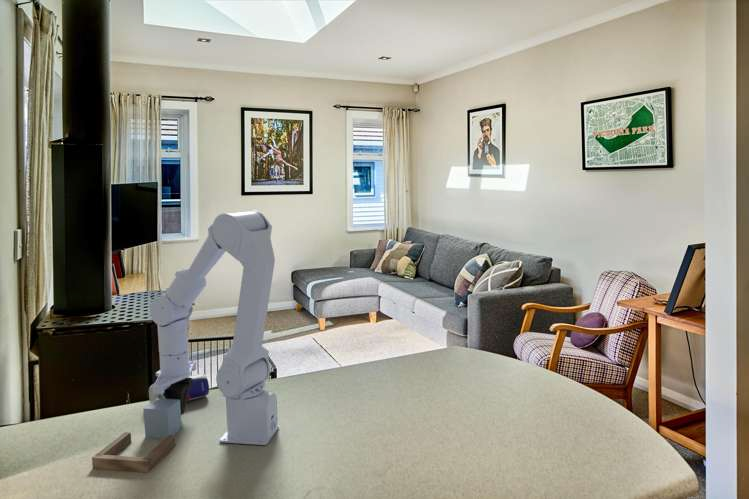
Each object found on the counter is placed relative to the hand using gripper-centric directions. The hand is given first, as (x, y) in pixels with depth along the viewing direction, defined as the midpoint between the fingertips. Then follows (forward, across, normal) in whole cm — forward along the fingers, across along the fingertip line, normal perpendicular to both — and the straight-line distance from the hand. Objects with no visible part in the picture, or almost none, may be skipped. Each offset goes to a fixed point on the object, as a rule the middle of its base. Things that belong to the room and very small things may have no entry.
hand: (177, 414), depth 117 cm
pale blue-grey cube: (+1, +6, 0) cm, 6 cm away
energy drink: (-2, -4, -8) cm, 9 cm away
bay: (+1, +15, 0) cm, 15 cm away
